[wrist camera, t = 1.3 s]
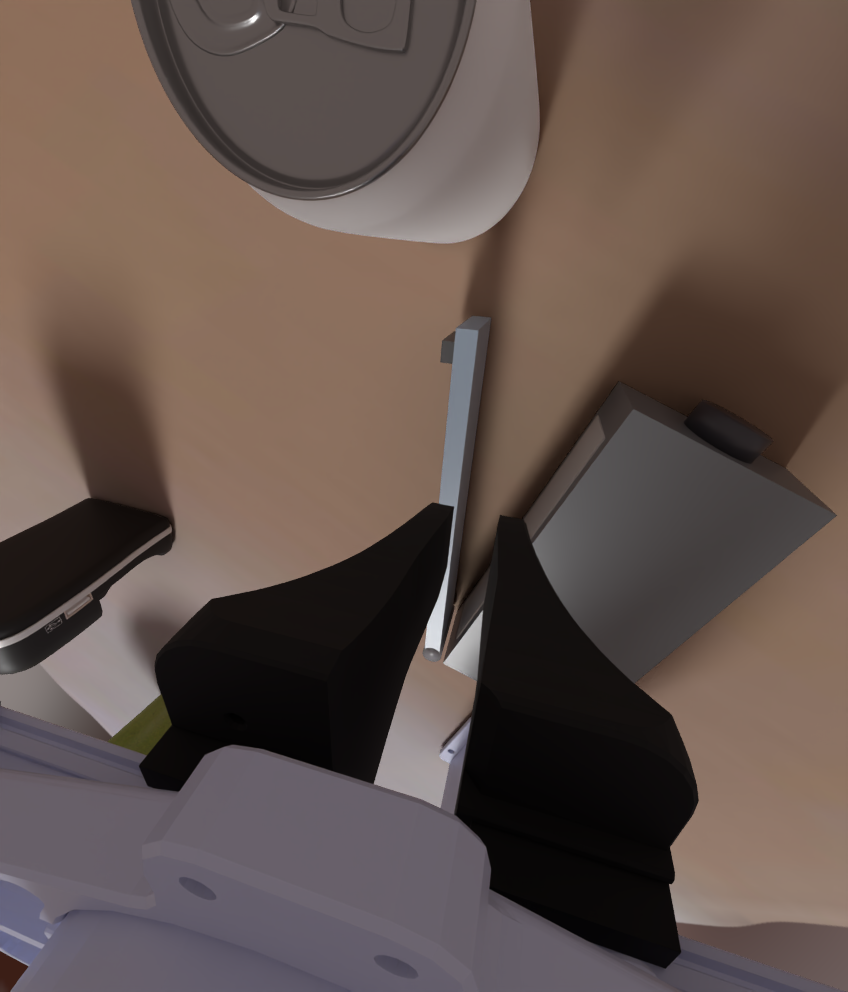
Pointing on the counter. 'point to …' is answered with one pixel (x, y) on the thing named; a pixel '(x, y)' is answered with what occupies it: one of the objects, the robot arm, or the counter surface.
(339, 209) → the can
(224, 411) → the counter surface
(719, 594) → the grey rectangular box
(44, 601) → the battery charger
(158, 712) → the plant pot
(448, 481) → the grey bar handle
